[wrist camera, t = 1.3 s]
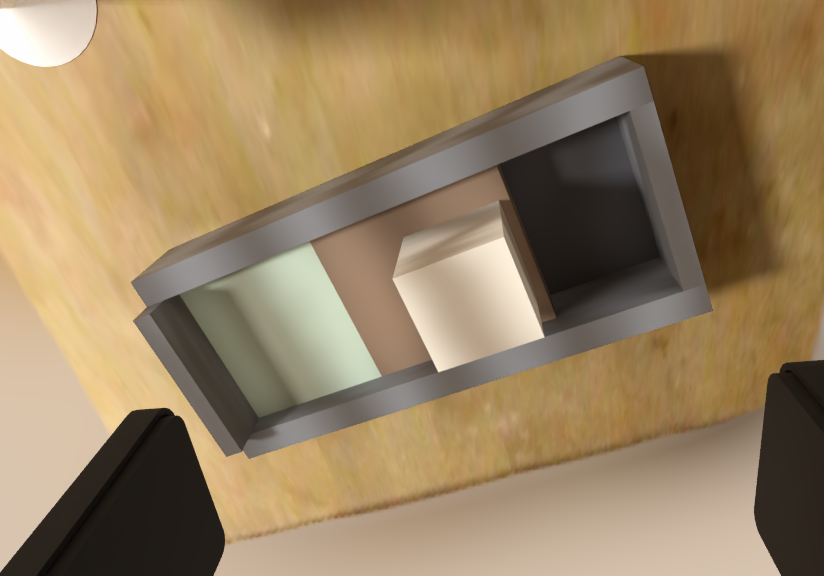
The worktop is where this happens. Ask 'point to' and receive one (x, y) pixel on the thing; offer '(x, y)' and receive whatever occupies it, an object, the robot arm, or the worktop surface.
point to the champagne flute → (46, 29)
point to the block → (468, 288)
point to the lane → (378, 253)
